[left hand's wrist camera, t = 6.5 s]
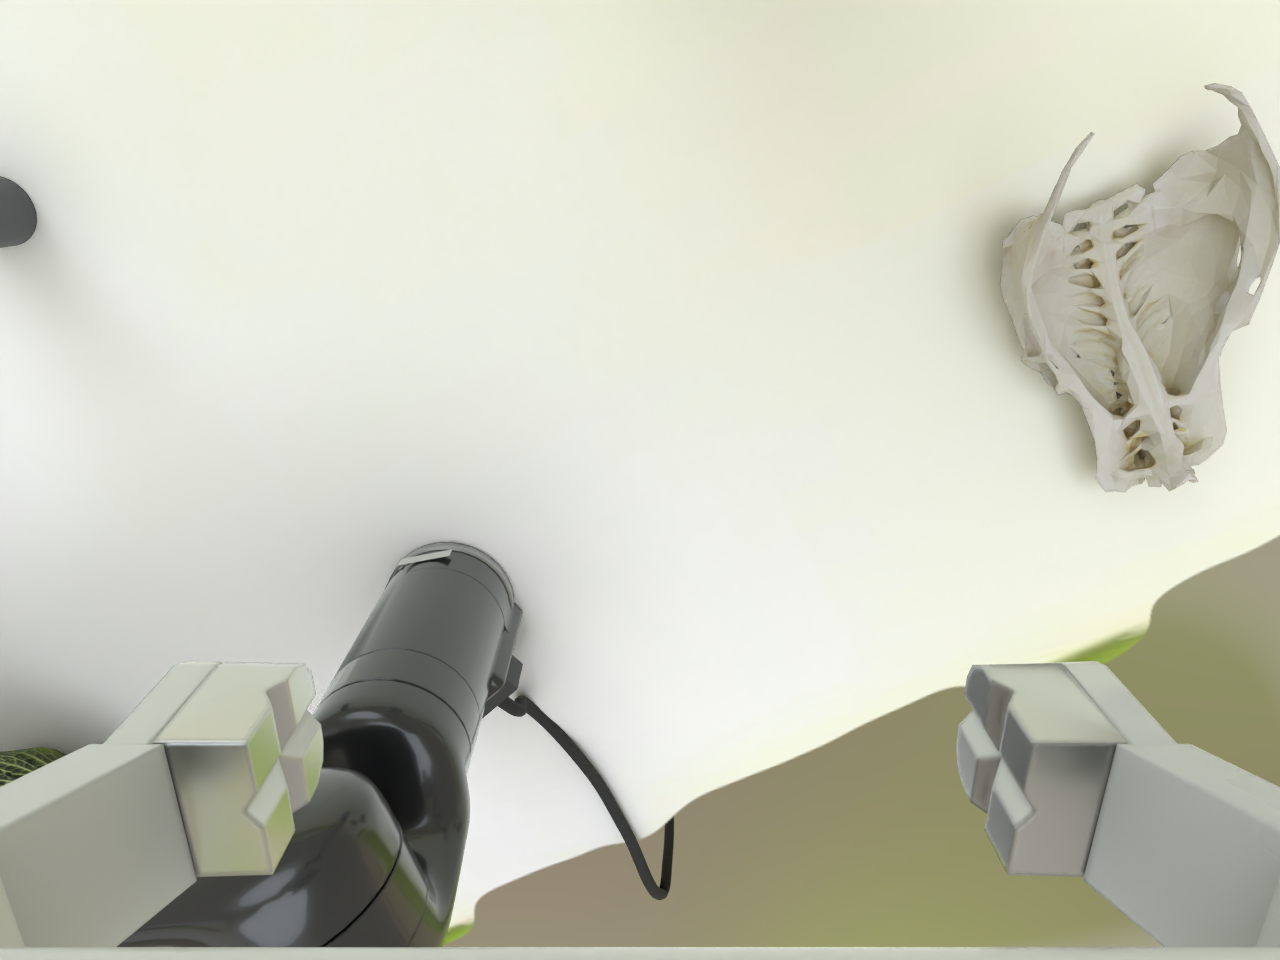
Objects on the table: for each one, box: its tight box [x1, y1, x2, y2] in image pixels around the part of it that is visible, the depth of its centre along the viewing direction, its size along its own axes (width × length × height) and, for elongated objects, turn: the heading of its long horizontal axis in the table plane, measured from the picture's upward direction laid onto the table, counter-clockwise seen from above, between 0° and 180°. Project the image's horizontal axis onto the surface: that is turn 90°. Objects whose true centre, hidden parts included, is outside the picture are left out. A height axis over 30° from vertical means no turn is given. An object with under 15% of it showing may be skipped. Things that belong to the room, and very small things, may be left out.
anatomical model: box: [1000, 83, 1280, 492], centre depth 52 cm, size 15×9×25 cm
